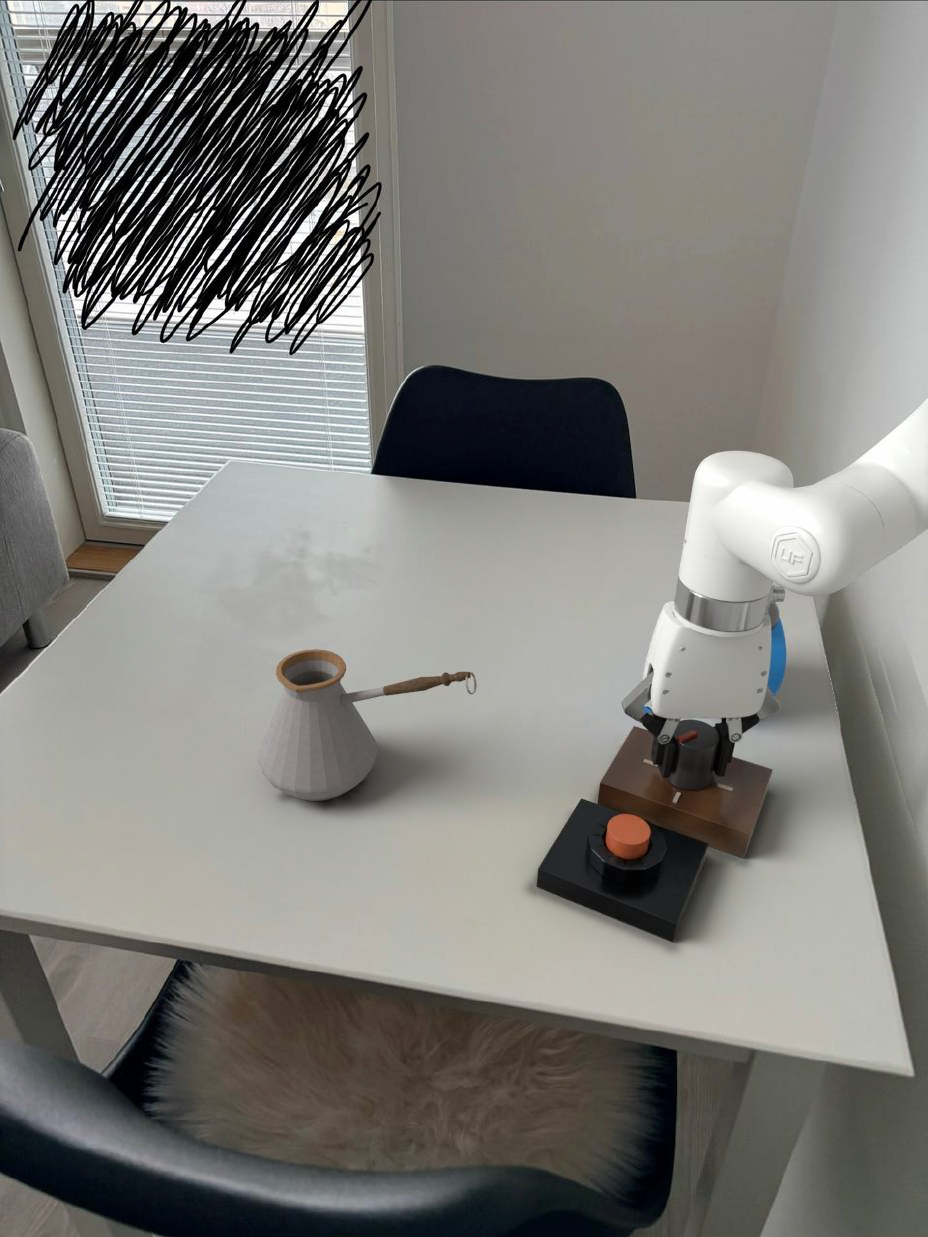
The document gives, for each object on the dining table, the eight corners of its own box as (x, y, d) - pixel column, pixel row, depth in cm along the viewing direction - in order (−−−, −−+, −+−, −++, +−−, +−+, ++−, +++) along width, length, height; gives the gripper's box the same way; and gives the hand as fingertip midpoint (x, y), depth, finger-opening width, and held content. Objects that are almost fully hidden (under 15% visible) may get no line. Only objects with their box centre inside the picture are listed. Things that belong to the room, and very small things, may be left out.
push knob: (653, 838, 75) (656, 822, 75) (640, 865, 73) (642, 850, 72) (613, 823, 77) (615, 808, 76) (599, 850, 74) (601, 834, 73)
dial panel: (767, 792, 86) (773, 767, 84) (743, 859, 78) (750, 833, 77) (630, 748, 92) (634, 724, 90) (596, 806, 84) (599, 781, 82)
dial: (687, 754, 86) (695, 711, 83) (720, 780, 83) (730, 735, 80) (654, 770, 84) (661, 726, 81) (687, 797, 81) (696, 752, 78)
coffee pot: (240, 802, 84) (221, 672, 76) (290, 730, 93) (277, 608, 85) (457, 845, 79) (459, 711, 72) (485, 765, 89) (490, 640, 81)
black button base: (704, 861, 78) (712, 828, 76) (672, 942, 70) (679, 908, 68) (579, 815, 83) (582, 783, 81) (536, 887, 75) (538, 853, 73)
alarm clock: (773, 728, 95) (803, 608, 87) (720, 734, 94) (745, 613, 86) (721, 662, 106) (742, 551, 98) (672, 667, 105) (691, 555, 97)
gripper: (801, 578, 77) (762, 741, 87) (612, 580, 76) (593, 744, 86) (837, 621, 71) (790, 792, 80) (631, 624, 70) (608, 797, 79)
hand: (689, 766), depth 83 cm, fingers closed on dial, 4 cm apart
